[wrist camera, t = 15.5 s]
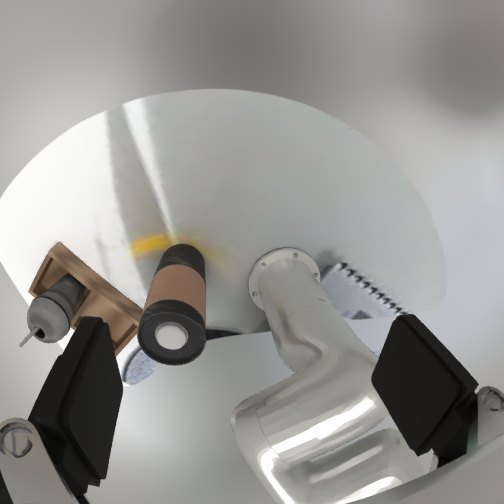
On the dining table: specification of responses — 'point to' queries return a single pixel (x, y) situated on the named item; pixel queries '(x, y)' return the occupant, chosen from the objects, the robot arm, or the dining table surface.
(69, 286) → the beverage cup
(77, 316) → the tray
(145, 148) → the dining table surface
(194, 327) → the travel mug
